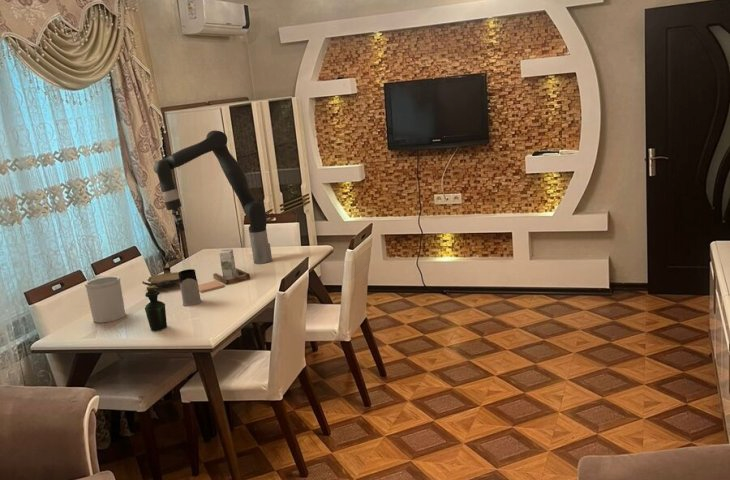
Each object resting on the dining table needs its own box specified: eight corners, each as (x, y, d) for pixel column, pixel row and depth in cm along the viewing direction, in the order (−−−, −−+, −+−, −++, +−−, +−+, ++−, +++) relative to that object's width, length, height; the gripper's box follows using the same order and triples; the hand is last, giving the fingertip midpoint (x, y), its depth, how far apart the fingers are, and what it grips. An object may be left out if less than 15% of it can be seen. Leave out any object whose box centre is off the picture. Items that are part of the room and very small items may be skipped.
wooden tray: (236, 272, 372) (235, 268, 371) (250, 278, 357) (249, 274, 356) (213, 278, 366) (212, 273, 365) (226, 285, 351) (225, 280, 350)
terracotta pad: (216, 282, 358) (215, 280, 358) (224, 286, 348) (224, 284, 348) (193, 288, 352) (192, 286, 352) (201, 292, 342) (200, 290, 342)
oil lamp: (135, 295, 353) (132, 280, 351) (162, 277, 382) (159, 263, 380) (177, 292, 349) (175, 277, 347) (201, 274, 377) (198, 260, 376)
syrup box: (237, 275, 365) (232, 248, 362) (234, 279, 360) (229, 251, 356) (226, 276, 366) (221, 249, 363) (223, 280, 360) (218, 252, 357)
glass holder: (182, 307, 322) (176, 275, 319) (181, 299, 335) (176, 268, 332) (202, 303, 324) (196, 271, 321) (200, 295, 337) (195, 265, 334)
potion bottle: (171, 323, 300) (163, 282, 296) (166, 330, 293) (158, 288, 289) (151, 326, 300) (143, 285, 296) (146, 333, 292) (138, 290, 288)
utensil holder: (115, 310, 330) (108, 274, 326) (133, 314, 321) (126, 276, 317) (86, 321, 319) (78, 283, 315) (104, 325, 310) (96, 286, 306)
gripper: (180, 197, 354) (190, 229, 357) (177, 196, 367) (187, 226, 370) (165, 202, 352) (175, 233, 355) (163, 200, 365) (173, 231, 368)
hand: (181, 230), depth 363 cm, fingers open, 8 cm apart
